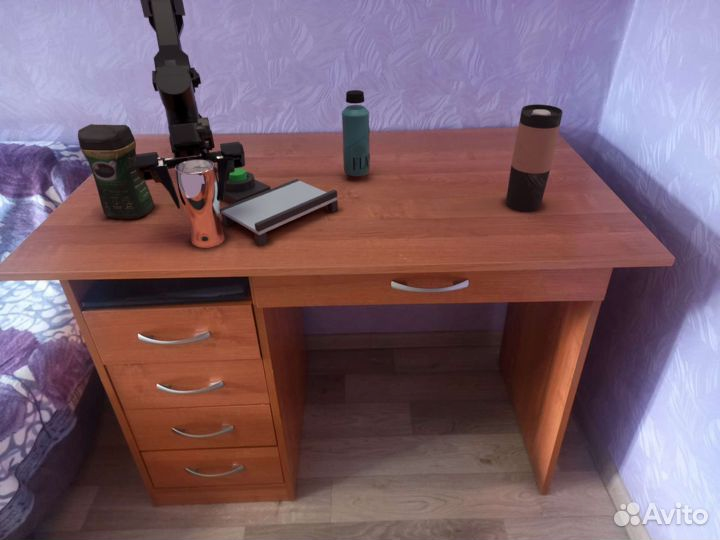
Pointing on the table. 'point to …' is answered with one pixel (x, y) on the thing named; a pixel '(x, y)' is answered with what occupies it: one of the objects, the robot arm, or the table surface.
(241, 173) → the button
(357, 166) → the beverage bottle
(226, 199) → the control box
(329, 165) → the table surface
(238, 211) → the shelf
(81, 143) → the coffee jar
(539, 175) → the travel mug
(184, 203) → the beer glass
